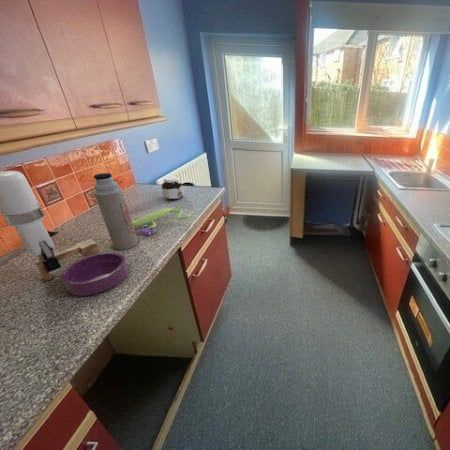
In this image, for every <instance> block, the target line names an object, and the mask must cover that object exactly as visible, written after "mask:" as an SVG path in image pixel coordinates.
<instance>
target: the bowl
mask: <svg viewBox="0 0 450 450" xmlns="http://www.w3.org/2000/svg"><path fill="white" fill-rule="evenodd" d="M128 274H129V267H128V265H127V261H126V259H125V256H123V254H121V253H117V252H102V253H101V254H96V255H92V256H89V257H86V258H83V259H82V258H81V259H79V260H77V261H75V262H73V263H71V264H70V265H68V266H67V267H66V268H65V269H64V270H63V272H62V273H61V277H60V278H61V281H62V283H63V285H64V287H65V289H66V290H67V292H68V293H69V294H70V295H73V296H78V297H80V296H81V297H82V296H83V297H85V296H92V295H97V294H99V293H103V292H105V291H108V290H110V289H112V288H114V287H116V286H117V285H119V284H120V283H121V282H123V281H124V280H125V278H127V276H128Z"/></svg>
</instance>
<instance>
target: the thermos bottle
mask: <svg viewBox="0 0 450 450" xmlns="http://www.w3.org/2000/svg"><path fill="white" fill-rule="evenodd" d="M93 179H95V184H94V185H93V189H94V192H93V194H94V198H95V200H96V202H97V205H98V208H99V210H100V213H101V215H102V219H103V221H104V225H105V226H106V229H107V232H108V235H109V237H110V240H111V243H112V246H113V248H114V249H115V250H119V251H120V250H121V251H122V250H123V251H124V250H127V249H131V248H133V247H135V246H136V245H137V244H138V242H139V240H138V237H137V234H136V231H135V230H136V229H135V227H134V226H133V224H134V223H133V224H132V221H131V220H132V217H131V214H130V212H129V208H128V205H127V202H126V198H125V195H124V191H123V189H122V188H121V187H120V186H119V183H118V182H117V181H114V177H113V175H112V174H111V172H110V173H109V172H103V173H102V172H101V173H97V174H94V175H93Z"/></svg>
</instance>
